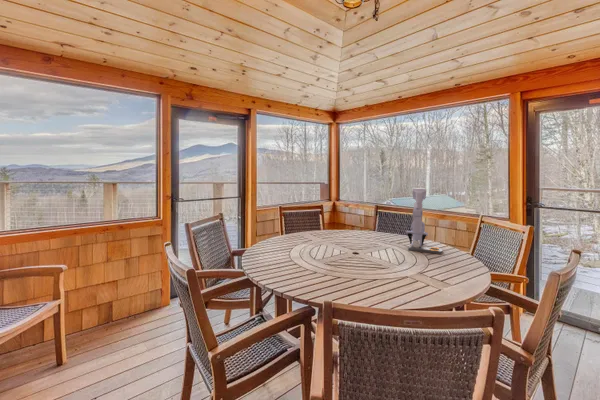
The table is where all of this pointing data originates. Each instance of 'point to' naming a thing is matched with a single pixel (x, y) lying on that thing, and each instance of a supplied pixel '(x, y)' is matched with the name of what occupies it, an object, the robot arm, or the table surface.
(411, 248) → the rail
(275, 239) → the table surface
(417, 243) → the drilled metal block
